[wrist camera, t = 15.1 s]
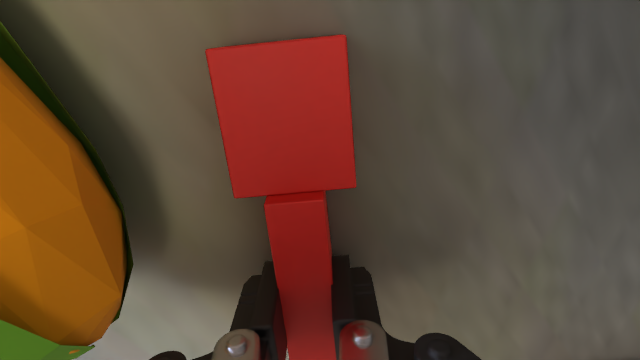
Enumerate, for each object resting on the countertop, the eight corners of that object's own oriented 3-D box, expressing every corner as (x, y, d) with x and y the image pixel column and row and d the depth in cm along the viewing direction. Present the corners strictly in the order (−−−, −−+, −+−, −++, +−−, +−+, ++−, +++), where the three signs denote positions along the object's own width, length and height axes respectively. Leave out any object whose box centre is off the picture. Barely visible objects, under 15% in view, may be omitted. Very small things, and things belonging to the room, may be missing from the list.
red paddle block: (364, 337, 16) (371, 387, 14) (274, 343, 16) (267, 394, 14) (342, 34, 12) (348, 34, 9) (220, 47, 12) (197, 50, 9)
